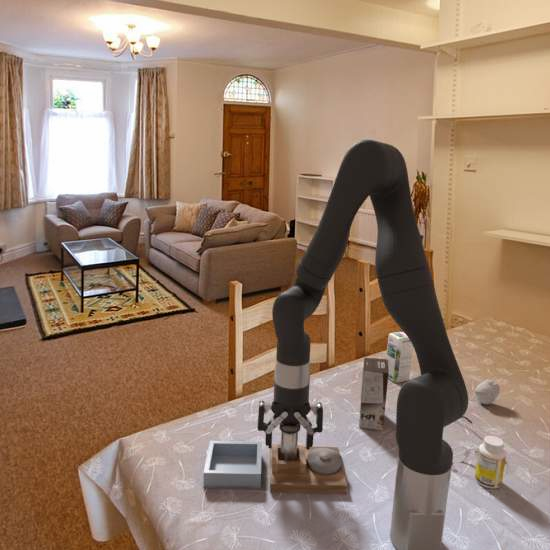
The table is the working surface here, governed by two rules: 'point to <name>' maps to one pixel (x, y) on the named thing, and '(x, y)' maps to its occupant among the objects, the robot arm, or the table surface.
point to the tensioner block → (308, 471)
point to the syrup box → (399, 357)
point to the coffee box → (373, 393)
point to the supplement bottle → (490, 462)
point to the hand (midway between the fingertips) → (288, 446)
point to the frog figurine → (487, 391)
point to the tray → (233, 465)
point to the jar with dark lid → (289, 441)
